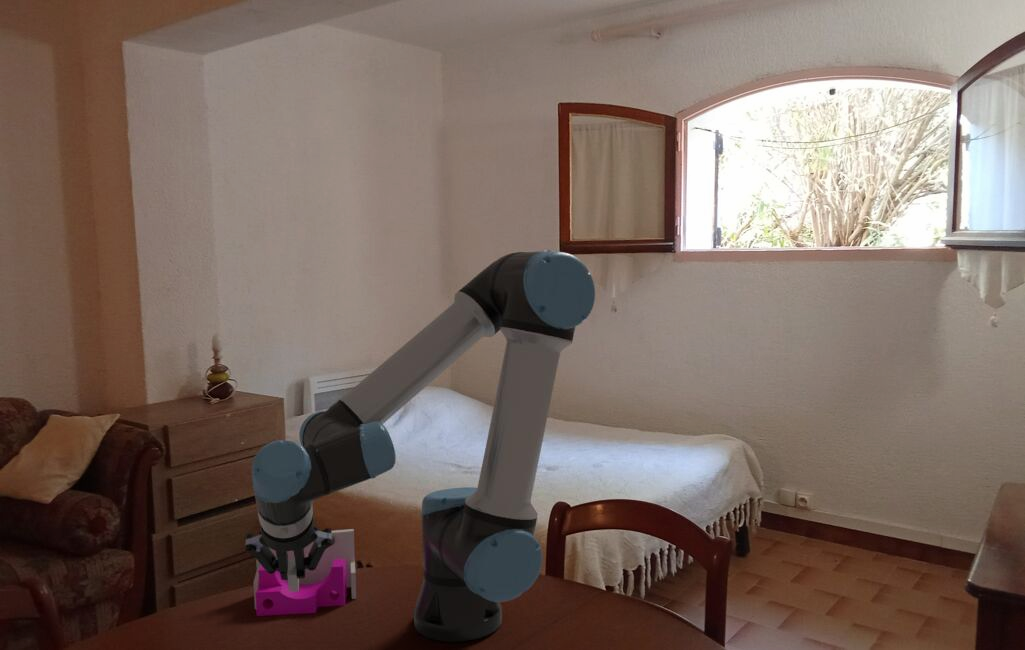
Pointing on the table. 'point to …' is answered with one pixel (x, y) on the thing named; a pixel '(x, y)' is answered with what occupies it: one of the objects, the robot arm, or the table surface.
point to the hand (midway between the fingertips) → (294, 583)
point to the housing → (326, 561)
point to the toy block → (300, 592)
